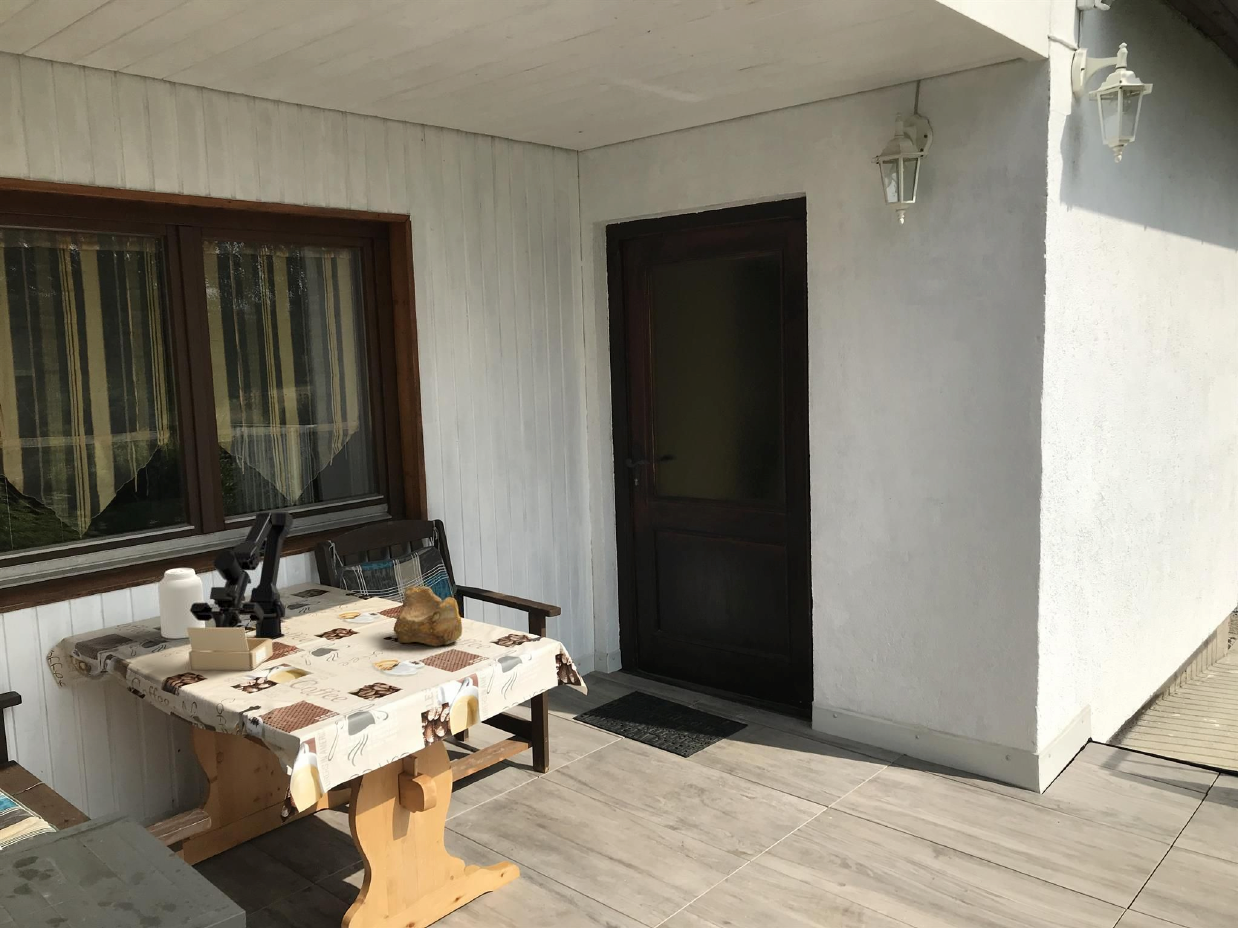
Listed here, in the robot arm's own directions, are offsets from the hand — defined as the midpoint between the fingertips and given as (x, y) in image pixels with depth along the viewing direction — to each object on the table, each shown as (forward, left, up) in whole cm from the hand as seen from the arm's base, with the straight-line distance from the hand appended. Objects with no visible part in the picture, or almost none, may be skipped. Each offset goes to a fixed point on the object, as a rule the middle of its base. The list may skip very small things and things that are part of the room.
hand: (218, 639), depth 267 cm
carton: (-6, -4, -9) cm, 11 cm away
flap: (-1, 0, -4) cm, 4 cm away
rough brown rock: (-51, +23, -9) cm, 57 cm away
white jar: (-12, -43, -9) cm, 46 cm away
